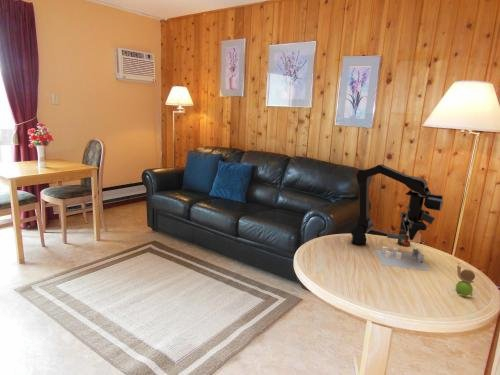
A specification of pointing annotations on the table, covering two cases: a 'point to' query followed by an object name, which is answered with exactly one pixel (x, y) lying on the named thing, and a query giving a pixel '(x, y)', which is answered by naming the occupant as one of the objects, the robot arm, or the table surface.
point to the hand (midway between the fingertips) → (409, 238)
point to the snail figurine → (465, 281)
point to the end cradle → (418, 255)
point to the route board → (401, 261)
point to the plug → (405, 237)
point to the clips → (395, 252)
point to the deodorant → (403, 232)
